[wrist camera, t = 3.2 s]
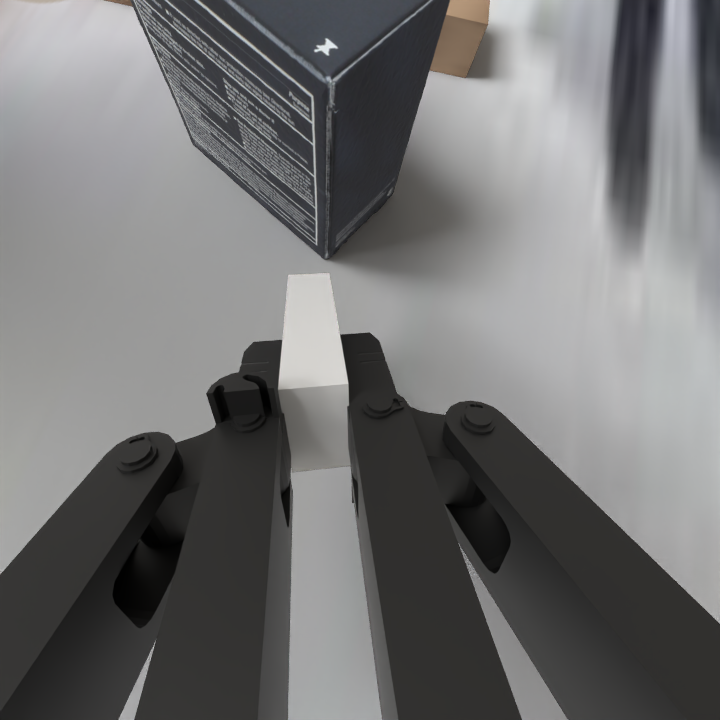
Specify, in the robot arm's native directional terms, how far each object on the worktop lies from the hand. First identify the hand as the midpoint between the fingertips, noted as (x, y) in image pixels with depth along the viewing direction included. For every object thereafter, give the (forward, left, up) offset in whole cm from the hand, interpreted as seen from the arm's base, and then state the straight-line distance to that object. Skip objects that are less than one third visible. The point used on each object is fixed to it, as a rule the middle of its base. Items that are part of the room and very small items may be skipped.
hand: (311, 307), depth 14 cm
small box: (0, +10, -6) cm, 12 cm away
